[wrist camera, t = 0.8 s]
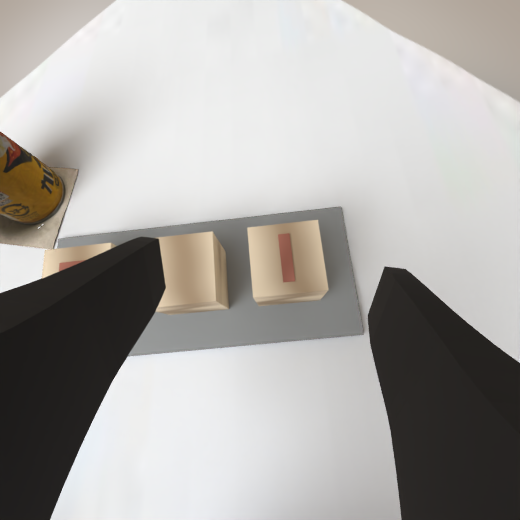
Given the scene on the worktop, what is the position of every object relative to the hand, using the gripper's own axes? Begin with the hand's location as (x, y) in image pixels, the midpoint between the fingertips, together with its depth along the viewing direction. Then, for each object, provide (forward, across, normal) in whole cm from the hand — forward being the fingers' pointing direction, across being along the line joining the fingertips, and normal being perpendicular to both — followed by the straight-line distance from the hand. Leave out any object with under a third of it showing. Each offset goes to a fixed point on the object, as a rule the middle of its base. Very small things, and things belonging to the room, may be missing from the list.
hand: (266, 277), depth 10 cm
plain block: (+12, +7, +10) cm, 17 cm away
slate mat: (+12, +7, +11) cm, 17 cm away
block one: (+13, -1, +9) cm, 16 cm away
